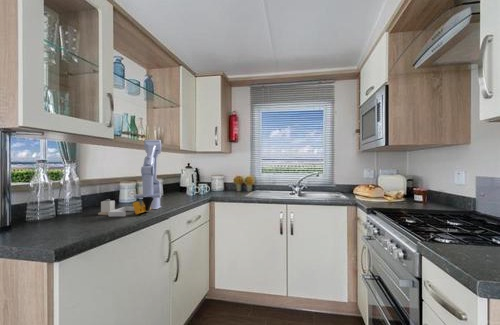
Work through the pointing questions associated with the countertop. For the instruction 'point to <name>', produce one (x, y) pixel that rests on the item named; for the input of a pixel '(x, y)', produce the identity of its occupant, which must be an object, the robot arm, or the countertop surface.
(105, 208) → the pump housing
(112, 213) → the parts bay
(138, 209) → the pipe clamp
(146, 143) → the robot arm
